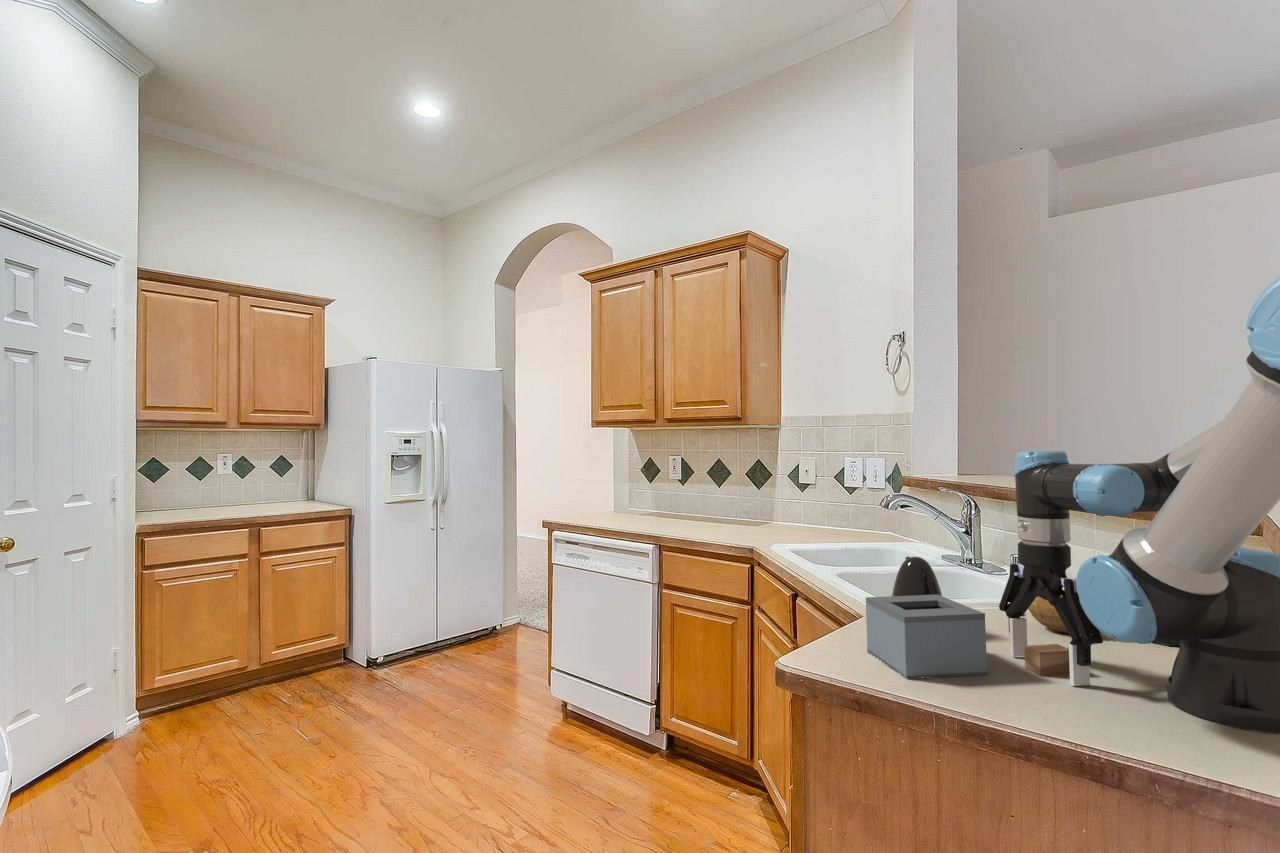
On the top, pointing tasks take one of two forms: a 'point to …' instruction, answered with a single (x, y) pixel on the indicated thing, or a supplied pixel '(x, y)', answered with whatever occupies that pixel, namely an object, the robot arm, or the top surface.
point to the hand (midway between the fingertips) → (1047, 669)
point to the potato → (1046, 614)
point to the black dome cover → (916, 579)
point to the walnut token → (1047, 659)
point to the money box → (926, 636)
